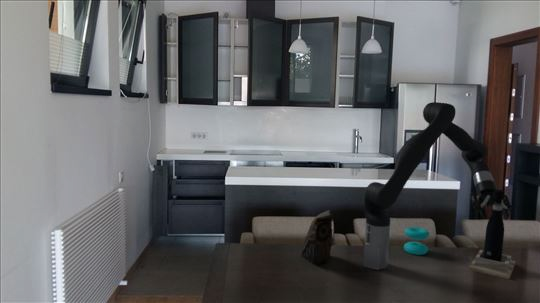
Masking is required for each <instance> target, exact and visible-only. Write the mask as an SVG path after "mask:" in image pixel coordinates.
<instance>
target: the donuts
mask: <svg viewBox="0 0 540 303" xmlns="http://www.w3.org/2000/svg"><path fill="white" fill-rule="evenodd" d="M404 233H405V235H406V236H407V238H409V239H412V240H416V241H408V242H406V243H405V244H403V249H404V251H406V252H407V253H408V254H412V255H416V256H421V255H422V256H423V255H425V254H427V253H428V251H429V248H428V246H427V245H426V244H425V243H422V242H420V240H421V241H423V240H425V239H426V240H427V239H428V238H429V236H430V232H429V231H428V229H425V228H422V227H417V226H410V227H407V228H406V229H405V231H404ZM417 240H419V242H418V241H417Z"/></svg>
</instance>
